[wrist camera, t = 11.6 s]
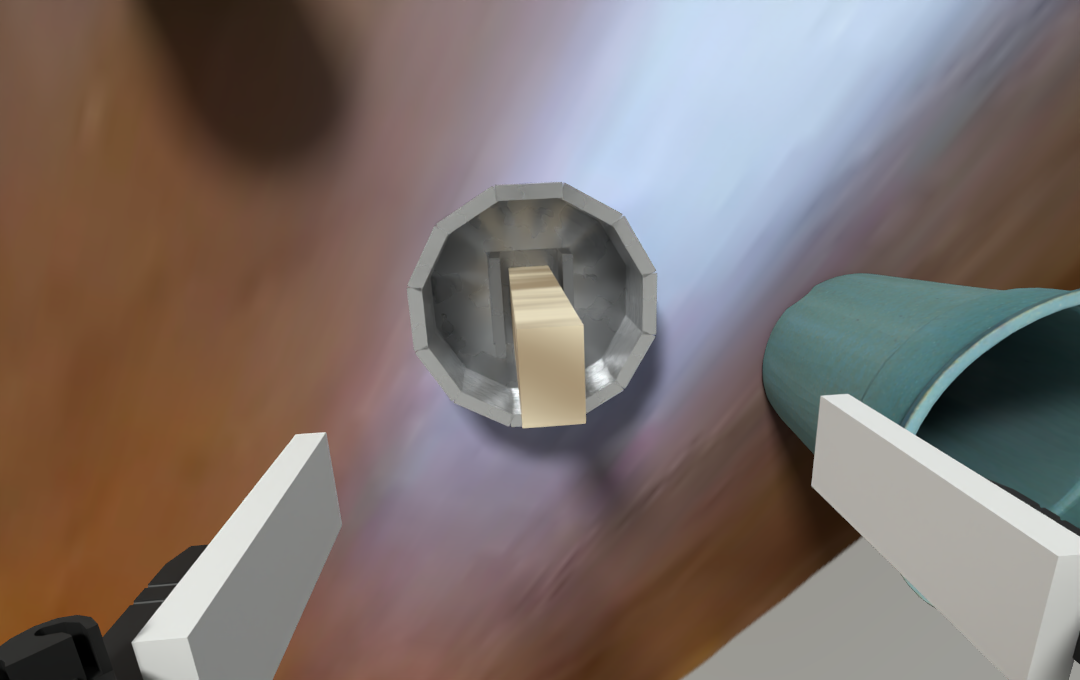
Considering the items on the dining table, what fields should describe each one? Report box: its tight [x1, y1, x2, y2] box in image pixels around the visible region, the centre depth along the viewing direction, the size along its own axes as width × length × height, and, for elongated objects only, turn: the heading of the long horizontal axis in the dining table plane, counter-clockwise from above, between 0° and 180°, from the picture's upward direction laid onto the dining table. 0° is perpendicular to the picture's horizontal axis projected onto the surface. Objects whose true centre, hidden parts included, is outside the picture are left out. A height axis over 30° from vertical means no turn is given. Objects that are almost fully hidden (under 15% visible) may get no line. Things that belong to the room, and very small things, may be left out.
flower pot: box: [763, 273, 1080, 608], centre depth 31 cm, size 16×16×16 cm
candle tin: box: [407, 182, 657, 427], centre depth 34 cm, size 14×14×5 cm
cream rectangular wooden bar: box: [508, 265, 586, 428], centre depth 28 cm, size 4×2×15 cm, turn 3°
